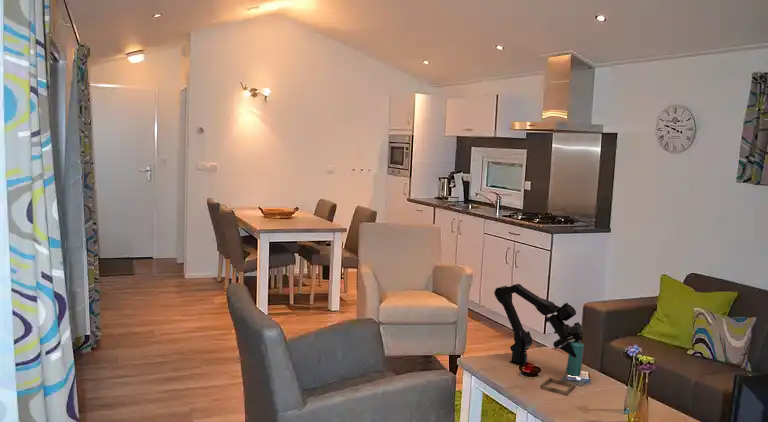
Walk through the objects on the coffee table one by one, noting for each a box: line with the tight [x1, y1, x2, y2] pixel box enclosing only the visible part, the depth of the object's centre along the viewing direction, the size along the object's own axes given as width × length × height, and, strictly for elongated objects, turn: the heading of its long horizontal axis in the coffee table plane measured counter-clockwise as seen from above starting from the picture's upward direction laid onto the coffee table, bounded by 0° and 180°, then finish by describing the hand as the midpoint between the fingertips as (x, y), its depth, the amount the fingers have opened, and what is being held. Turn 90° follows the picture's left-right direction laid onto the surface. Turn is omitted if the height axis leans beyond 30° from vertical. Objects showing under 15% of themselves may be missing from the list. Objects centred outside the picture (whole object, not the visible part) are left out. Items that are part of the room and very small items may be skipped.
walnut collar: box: [539, 377, 576, 396], centre depth 291 cm, size 12×12×2 cm
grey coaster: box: [559, 374, 587, 387], centre depth 301 cm, size 10×10×1 cm
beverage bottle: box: [565, 334, 585, 377], centre depth 300 cm, size 6×7×20 cm
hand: (578, 355), depth 299 cm, fingers closed on beverage bottle, 6 cm apart
